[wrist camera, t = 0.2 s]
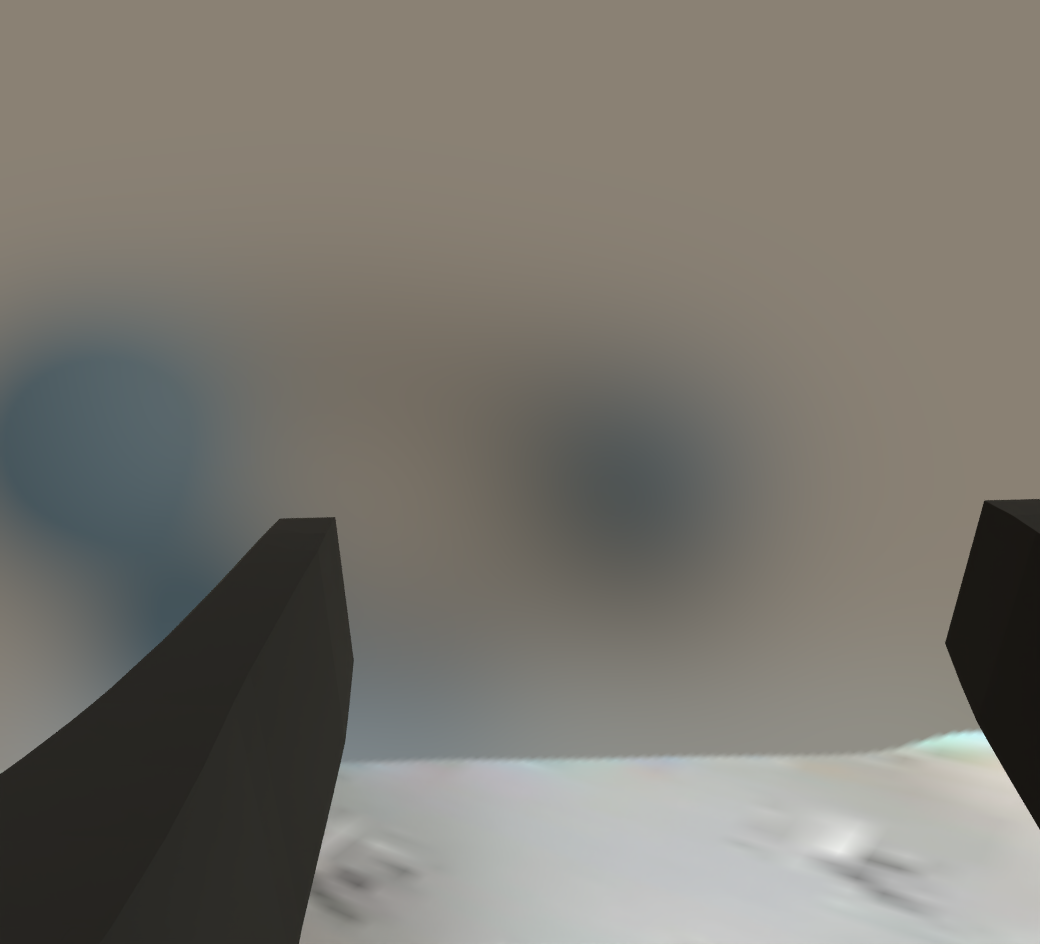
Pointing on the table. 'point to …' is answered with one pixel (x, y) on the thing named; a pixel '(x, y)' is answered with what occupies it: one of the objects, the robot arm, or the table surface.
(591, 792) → the table surface
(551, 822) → the table surface
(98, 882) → the robot arm
